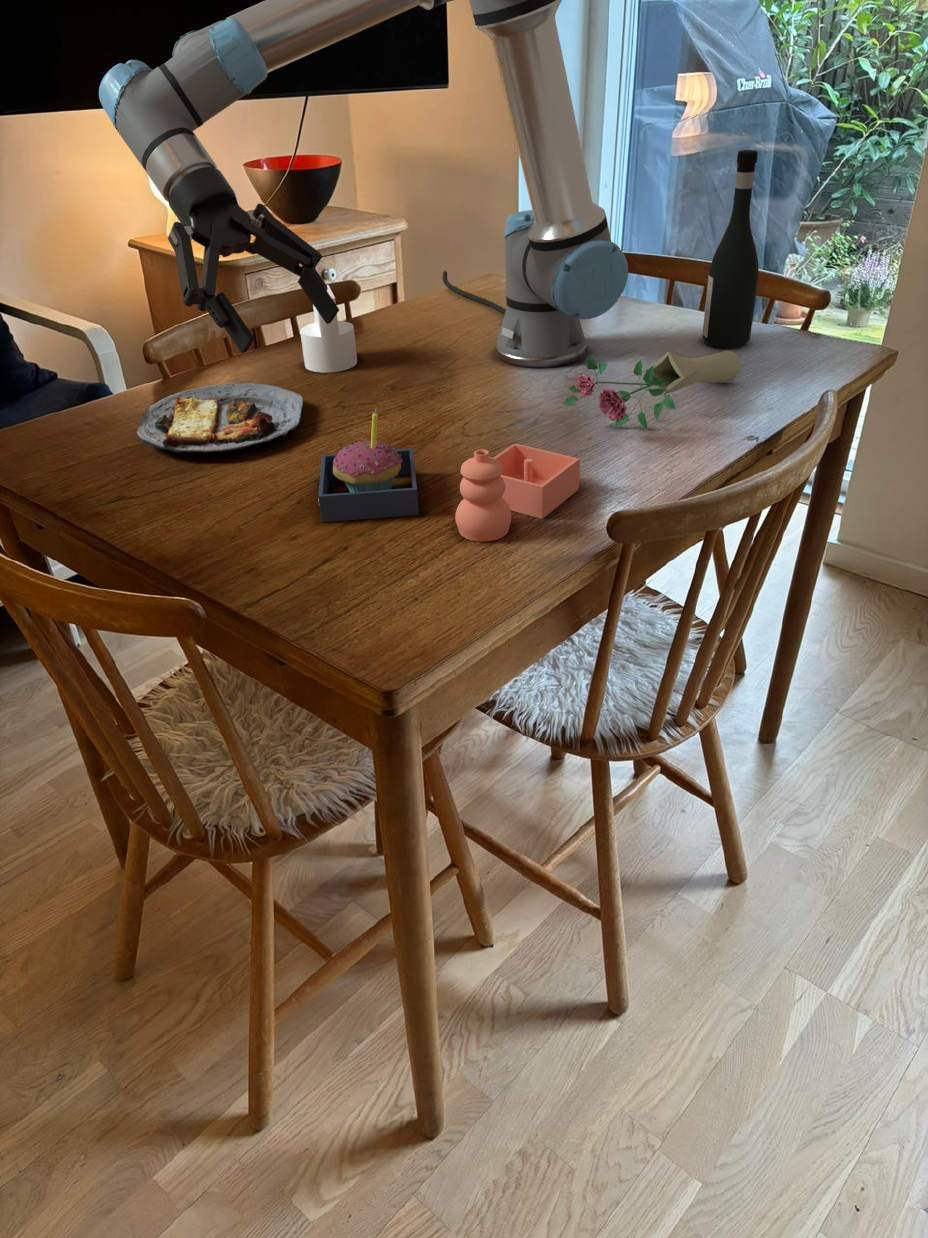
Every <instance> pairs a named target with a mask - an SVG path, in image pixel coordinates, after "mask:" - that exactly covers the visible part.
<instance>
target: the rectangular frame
mask: <svg viewBox="0 0 928 1238" xmlns="http://www.w3.org/2000/svg"><path fill="white" fill-rule="evenodd" d="M395 450H396V451H397V452H398V453H399V455H401V457H402V463H401V470H400V471H399V472H398V474H397V476H396V477H399V476H410V479H411V487H407V488H394V489H393V488H391V490H378V491H364V492H351V493H350V492H341V493H340V492H339V493H329V486H330V481H341V480H340V479H338V478H337V477H335V475H334V474H333V464H334V463H333V461H334V458H335V457H336V455H335V454H336V453H334V454H322V455H321V463H320V474H319V483H318V485H319V486H318V496H317V503H318V504H317V505H318V506H319V512H320V518H321V523H332V522H333V523H334V522H345V521H358V520H370V519H371V520H372V519H383V518H384V519H385V518H398V517H411V516H419V515H420V511H419V509H420V508H419V497H418V496H419V495H418V485H417V476H416V466H415V465H416V464H415V455H414V454H415V453H414V448H401V449H395Z"/></svg>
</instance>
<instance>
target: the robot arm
mask: <svg viewBox="0 0 928 1238" xmlns="http://www.w3.org/2000/svg"><path fill="white" fill-rule="evenodd" d="M453 1H455V0H263V1H260V2H259V3H257V4H254V5H252V6H250V7H248V8H245V9H243V10H240V11H239V12H237V13H234V14H232V15H230V16H227V17H226V18H225V19H222V20H219V21H216V22H214V23H211V24H210V25H208V26H206V27H205V26H204V27H203V28H201V29H199V30H191V31H189V32H187V33H185V34H183V35H181V36H180V37H179V39H178V40H177V41H176V42H175V44H174V47H173V50H172V57H171V58H170V59H168V60H167V61H165V62H164V63H162V64H160V65H159V66H157V67H155V68H154V69H152V68H150V66H148V65H147V64H146V63H145V62H143V61H141V60H138V59H130V60H128V61H126V63H122V62H120V63H117V64H116V65H114V66H113V67H112V68H110V69H109V70H108V71H107V72H106V73H105V75H104V76H103V78H102V80H101V82H100V85H99V88H98V97H99V98H98V99H99V103H100V104H101V106H102V108H103V110H104V112H105V113H106V115H107V116H108V119H110V121H111V123H112V125H113V128H115V130H116V132H117V133H118V135H119V136H120V137H121V139H122V140H123V141H124V143H125V144H126V146H127V147H128V148H129V150H130V152H131V153H132V155H134V157H135V158H136V160H137V161H138V163H139V164H140V166H141V167H142V168H143V170H144V171H145V173H146V174H147V176H148V177H149V178H150V180H151V182H152V183H153V185H154V186H155V187H156V189H157V190H158V192H159V193H160V194H161V196H162V198H163V199H164V200H165V201H166V202H168V206H169V208H170V209H171V211H172V212H173V214H174V215H175V217H176V218H177V220H178V221H174V222H173V224H172V227H171V228H170V231H169V234H168V236H167V241H168V243H169V244H170V246H171V247H172V249H173V252H174V253H175V260H176V266H177V272H178V280H179V285H180V291H181V297H182V302H183V304H184V305H185V306H186V307H190V308H191V307H193V306H194V305H196V308H197V309H198V310H199V311H201V312H206V311H207V313H208V314H209V316H210V317H211V318H212V321H214V323H215V324H216V326H217V327H218V328H220V329H223V328H224V329H225V331H226V333H227V334H228V335H229V337H230V338H231V340H232V341H233V342H234V344H235V345H236V347H237V349H238V350H239V351H240V353H241V354H244V353H247V352H248V351H249V349H250V347H251V346H252V344H253V342H254V341H255V339H256V338H255V336H254V335H253V334H252V332H251V331H250V329H249V328H248V326H247V325H246V323H245V322H244V321H243V319H242V318H241V316H240V315H239V313H238V311H237V310H236V309H235V307H234V305H233V304H232V303H231V301H230V300H229V299H228V297H227V296H226V294H225V293H224V292H223V291H222V292H218V293H217V294H216V289H217V282H218V281H217V280H218V272H219V264H220V256H222V257H223V258H227V257H230V256H231V255H233V254H236V255H237V254H239V255H240V254H243V253H245V252H247V253H248V254H250V255H258V256H260V257H262V258H264V259H265V260H268V261H270V262H271V263H273V264H275V265H277V266H279V267H281V268H283V269H285V270H287V271H288V272H290V273H291V274H294V275H296V276H298V277H299V279H298V280H297V283H298V285H299V286H300V288H301V289H302V290H303V292H304V294H305V295H306V296H307V298H308V299H309V301H310V302H311V304H312V306H313V305H314V306H315V308H316V309H317V311H318V312H319V314H320V315H321V317H322V318H323V320H324V321H325V323H326V324H328V323H331V322H332V320H333V319H334V317H335V316H336V314H337V315H338V313H339V312H340V308H339V307H338V305H337V303H336V304H335V302H334V301H333V299H332V298H331V296H330V295H329V294H328V292H327V290H328V288H327V285H328V284H327V283H326V282H325V281H324V279H323V278H322V276H321V275H320V274H319V272H318V271H317V269H316V268H317V266H318V264H319V263H320V262H321V260H322V258H323V256H322V253H321V252H320V251H319V250H317V248H314V246H312V245H311V244H310V243H308V242H307V241H306V240H304V239H303V238H302V237H300V236H299V235H298V234H296V233H295V232H294V231H293V230H291V229H290V228H289V227H288V226H286V225H285V224H284V223H282V222H281V221H280V220H279V219H277V218H276V217H275V216H274V215H273V214H272V213H271V212H270V211H269V209H268V208H267V207H266V206H265V205H264V204H263V203H259V202H258V203H257V204H256V206H255V208H254V209H252V210H249V211H246V210H245V209H243V208H242V207H241V206H240V205H239V203H238V199H237V196H236V192H235V191H234V189H233V187H232V186H231V185H230V183H229V182H228V180H227V179H226V177H225V176H224V174H223V173H222V172H221V170H219V168H218V166H217V164H216V163H215V161H214V159H213V158H212V156H211V155H210V154H209V152H208V151H207V150H206V148H205V147H204V145H203V143H202V142H201V141H200V139H199V138H198V137H197V135H196V134H195V132H194V131H196V130H197V129H199V128H200V127H202V126H203V125H204V124H205V123H206V122H208V121H209V120H211V119H212V118H214V117H215V116H216V115H218V114H220V112H222V111H224V110H225V109H227V108H228V107H230V106H231V105H233V104H235V103H236V102H237V101H238V100H240V99H241V98H243V97H244V96H246V95H250V94H251V93H252V92H253V90H254V89H255V88H256V87H258V86H259V85H260V84H261V83H263V81H265V80H266V79H267V77H268V74H269V73H271V72H273V71H275V70H278V69H280V68H282V67H284V66H286V65H289V64H291V63H293V62H295V61H297V60H300V59H303V58H304V57H306V56H309V55H312V53H316V52H318V51H320V50H322V49H324V48H326V47H329V46H330V45H332V44H335V43H338V42H340V41H342V40H344V39H347V38H349V37H351V36H353V35H355V34H357V33H360V32H362V31H364V30H366V29H368V28H371V27H373V26H375V25H378V24H381V23H382V22H384V21H387V20H389V19H392V17H396V16H398V15H400V14H402V13H404V12H407V11H409V10H411V9H413V8H416V7H417V6H419V7H421V8H423V9H425V10H427V11H429V10H432V9H434V8H436V7H438V6H441V5H442V4H446V3H449V2H453ZM468 1H469V5H470V9H471V12H472V13H471V14H472V17H473V21H474V25H475V28H476V29H477V30H479V31H480V32H482V33H483V34H485V35H486V36H487V37H488V38H489V39H490V40H491V45H492V50H493V53H494V58H495V62H496V65H497V70H498V73H499V77H500V78H499V79H500V82H501V86H502V91H503V95H504V98H505V99H504V100H505V103H506V108H507V112H508V115H509V119H510V123H511V124H510V125H511V127H512V132H513V135H514V140H515V144H516V148H517V153H518V156H519V160H520V164H521V169H522V173H523V177H524V181H525V185H526V190H527V194H528V197H529V201H530V207H531V209H529V210H522V211H517V212H513V213H511V214H509V215H507V218H506V220H505V229H504V230H505V231H504V235H503V239H504V245H505V246H504V253H505V254H504V255H505V298H506V301H505V302H506V307H505V308H504V307H502V306H500V305H499V304H497V303H495V302H493V301H491V300H489V299H486V298H483V297H481V296H478V295H476V294H472V293H471V292H467V291H465V290H463V289H460V288H458V287H456V286H455V285H453V284H451V282H449V280H448V272H447V270H444V271H443V272H442V282H443V284H444V285H445V287H446V288H447V289H449V290H450V291H452V292H454V293H456V294H457V295H460V296H461V297H465V298H467V299H470V300H472V301H474V302H477V303H480V304H483V305H485V306H488V307H490V308H492V309H494V310H496V311H497V312H499V313H501V314H502V315H503V319H502V321H501V325H500V329H499V332H498V336H497V339H496V343H495V349H496V352H495V355H496V356H497V358H498V359H499V360H501V361H502V362H505V363H506V364H509V365H513V366H517V367H518V366H519V367H526V368H551V367H552V368H553V367H560V366H565V365H570V364H572V363H575V362H577V361H579V360H581V359H582V358H584V356H585V355H586V349H587V348H586V347H587V342H586V336H585V333H584V330H583V327H582V323H581V320H591V319H595V318H598V317H600V316H602V315H604V314H605V313H607V312H608V311H610V310H611V309H612V308H613V307H614V306H615V305H616V303H618V301H619V298H620V297H621V295H622V294H623V293H624V291H625V289H626V287H627V282H628V277H629V266H628V265H629V264H628V261H627V257H626V256H625V253H624V252H623V250H622V249H621V247H620V246H619V245H618V244H617V243H615V242H613V241H612V239H611V233H610V229H609V223H608V218H607V213H606V210H605V209H604V208H603V207H601V206H600V205H598V204H596V203H595V202H594V201H593V199H592V194H591V188H590V184H589V178H588V174H587V170H586V164H585V160H584V159H585V158H584V153H583V149H582V146H581V139H580V135H579V130H578V125H577V120H576V114H575V109H574V106H573V99H572V95H571V90H570V86H569V85H570V84H569V80H568V75H567V69H566V65H565V61H564V56H563V50H562V46H561V40H560V36H559V31H558V27H557V21H556V13H557V11H558V10H559V7H560V5H561V3H562V1H563V0H468ZM252 236H254V239H253V241H252V242H251V240H252ZM192 241H193V242H195V243H197V244H199V245H200V246H202V247H203V248H204V249H203V258H202V262H203V264H202V273H201V281H200V284H199V278H198V273H197V267H196V262H195V256H194V250H193V243H192ZM199 285H200V286H199Z"/></svg>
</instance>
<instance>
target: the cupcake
mask: <svg viewBox="0 0 928 1238" xmlns="http://www.w3.org/2000/svg"><path fill="white" fill-rule="evenodd" d="M378 420H379V414H378V407H375V409H374V412H373V413H372V417H371V433H370V435H371V436H370V440H363V441H361V440H360V441H354V442H351V443H349V444H346V445H345V446H344V447H342V448H341V449H340V450H339V451H337V453H334V454H335V455H336V457H335V458H334V461H333V463H334V464H333V474H334V475H335V477H337V478H338V479H340V480H339V481H341V482H344V484H345V486H346V487H347V489H348V491H349V493H351V492H364V491H378V490H391V489H392V487H393V484H394V480H395V478H396V477H398V476H397V474H398V472H399V471H400V470H401V463H402V457H401V455H399V453H398V452H397V451H396V450H397V449H395V447H393V446H392V445H389V444H388V443H386V442H384V441H380V440H378V439H377V437H378V422H379V421H378Z"/></svg>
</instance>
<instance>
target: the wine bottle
mask: <svg viewBox="0 0 928 1238" xmlns="http://www.w3.org/2000/svg"><path fill="white" fill-rule="evenodd" d="M758 156H759V153H758V151H757V150H755V149H742V150H739V151H738V152H737V157H736V165H737V167H736V175H735V183H734V185H735V186H734V194H733V195H734V196H733V203H732V211H731V215H730V218H729V222H728V225H727V227H726V230H725V232H724V234H723V236H722V238H721V240H720V242H719V244H718V246H717V248H716V249H715V252H714V255H713V257H712V260H711V263H710V267H709V271H708V278H707V287H706V295H705V297H706V298H705V307H704V317H703V324H702V325H703V326H702V340H703V342H704V343H706V344H707V345H708V346H710V347H713V348H717V349H736V348H737V349H738V348H741V347H744V346H745V345H746V344H747V343H748V342H749V341H750V340H751V335H752V328H753V320H754V313H755V305H756V297H757V291H758V283H759V282H758V281H759V259H758V258H759V257H758V253H757V249H756V245H755V241H754V236H753V233H752V228H751V227H752V226H751V218H750V214H751V213H750V212H751V202H752V195H753V194H752V193H753V186H754V185H753V184H754V178H755V172H756V166H757V165H756V164H757V163H758Z"/></svg>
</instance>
